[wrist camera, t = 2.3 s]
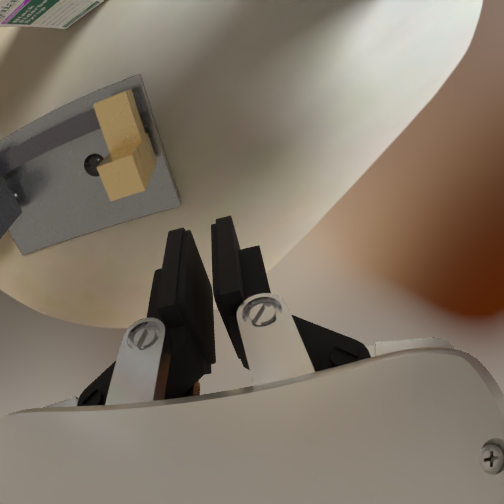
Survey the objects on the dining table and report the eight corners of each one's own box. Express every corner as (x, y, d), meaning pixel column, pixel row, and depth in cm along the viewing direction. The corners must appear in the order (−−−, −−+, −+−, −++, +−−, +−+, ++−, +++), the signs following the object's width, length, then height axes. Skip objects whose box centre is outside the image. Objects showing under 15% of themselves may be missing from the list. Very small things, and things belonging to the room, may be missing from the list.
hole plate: (140, 74, 25) (115, 82, 18) (181, 201, 33) (174, 247, 26) (-22, 155, 26) (-65, 186, 19) (25, 250, 34) (-3, 294, 27)
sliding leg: (134, 86, 25) (112, 98, 19) (158, 160, 29) (145, 190, 23) (105, 98, 25) (76, 113, 19) (129, 169, 29) (110, 201, 23)
